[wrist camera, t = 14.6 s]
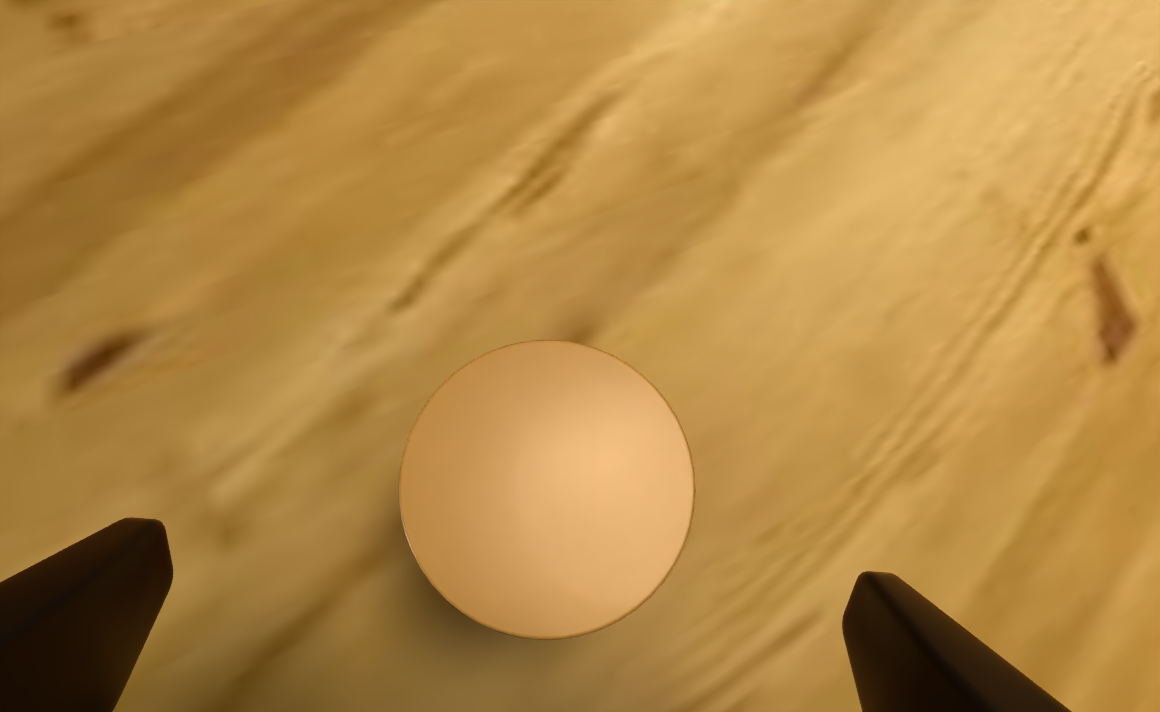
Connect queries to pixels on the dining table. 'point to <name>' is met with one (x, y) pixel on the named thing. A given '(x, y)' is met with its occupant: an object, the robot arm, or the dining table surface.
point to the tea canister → (546, 489)
